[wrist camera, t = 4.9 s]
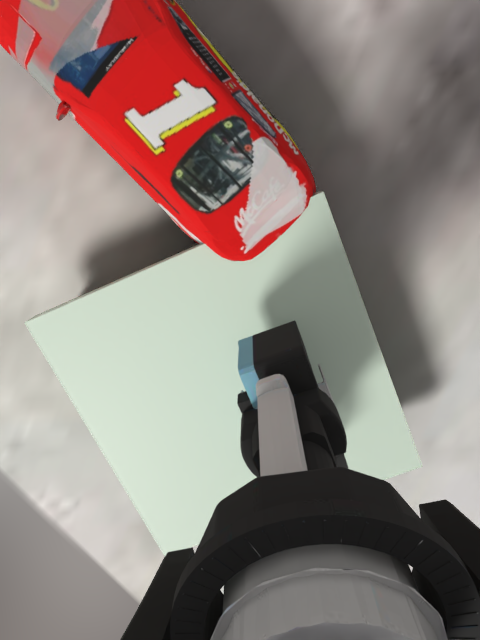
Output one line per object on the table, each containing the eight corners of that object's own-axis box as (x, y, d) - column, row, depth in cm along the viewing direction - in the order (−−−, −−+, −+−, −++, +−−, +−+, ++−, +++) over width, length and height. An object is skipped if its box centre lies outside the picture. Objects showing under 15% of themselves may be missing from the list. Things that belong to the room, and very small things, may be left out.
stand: (398, 428, 21) (422, 466, 18) (174, 509, 23) (164, 556, 20) (310, 191, 18) (323, 191, 15) (56, 302, 19) (24, 322, 16)
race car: (-20, 15, 16) (-102, -38, 12) (81, -111, 15) (26, -214, 11) (229, 280, 19) (226, 306, 15) (327, 192, 18) (352, 195, 14)
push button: (383, 448, 17) (554, 811, 7) (254, 488, 18) (262, 862, 8) (331, 294, 15) (478, 528, 5) (187, 346, 16) (95, 632, 6)
